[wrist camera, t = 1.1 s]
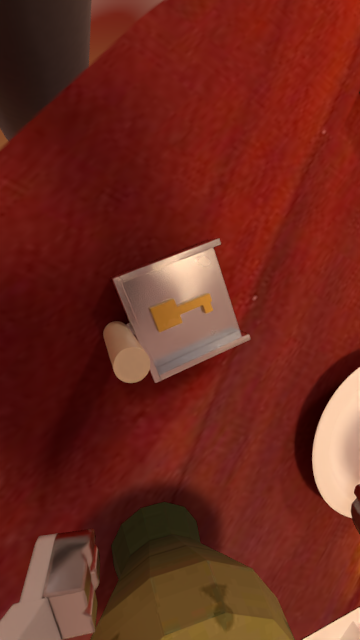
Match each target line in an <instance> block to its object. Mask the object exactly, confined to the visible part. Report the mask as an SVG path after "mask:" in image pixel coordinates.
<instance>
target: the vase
mask: <svg viewBox="0 0 360 640" xmlns="http://www.w3.org/2000/svg"><path fill="white" fill-rule="evenodd" d="M111 546H112V554H113V563H114V568H115V570H116V573H117V576H118V579H119V580H118V582H117V584H116V586H115V588H114V591H113V593H112V595H111V597H110V599H109V601H108V603H107V605H106V607H105V610H104V612H103V614H102V616H101V618H100V620H99V622H98V624H97V626H96V628H95V632H94V633H93V635H92V637H91V639H90V640H295V639H294V637H293V634H292V632H291V630H290V627H289V625H288V623H287V620H286V618H285V616H284V613H283V611H282V609H281V606H280V604H279V602H278V599H277V597H276V596H275V595H274V594H273V593H272V592H271V590H270V589H269V588H268V587H267V586H266V584H265V583H264V582H263V581H262V580H261V579H260V577H259V576H258V575H257V574H256V573H255V571H254V570H253V569H252V568H250V567H248V566H246V565H244V564H242V563H240V562H238V561H236V560H234V559H232V558H230V557H228V556H226V555H224V554H222V553H220V552H217V551H215V550H213V549H211V548H209V547H207V546H205V545H203V544H201V543H200V537H199V532H198V527H197V522H196V520H195V519H194V518H193V517H192V515H191V514H190V513H189V512H188V511H187V509H186V508H185V507H183V506H179V505H175V504H170V503H166V502H162V503H159V504H155V505H151V506H147V507H143V508H141V509H139V510H138V511H137V512H136V513H135V514H133V515H132V516H131V517H130V518H128V519H127V520H126V521H125V522H123V523H122V524H121V526H120V528H119V530H118V533H117V535H116V537H115V539H114V541H113V543H112V545H111Z"/></svg>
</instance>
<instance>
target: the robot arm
mask: <svg viewBox="0 0 360 640" xmlns="http://www.w3.org/2000/svg"><path fill="white" fill-rule="evenodd" d="M354 494H355V496H356V497H357V498H356V499H355V500H354V501H353V503H352V505H351V515H352V520H353V522H354V525H355V527H356V529H357V530H358V532H359V534H360V484H358V485H357V486H356V487H355V489H354ZM99 578H100V557H99V550H98V546H96V545H95V533H94V529H87V530H80V531H73V532H65V533H58V534H51V535H45V536H39V538H38V539H37V541H36V543H35V546H34V550H33V554H32V557H31V561H30V565H29V568H28V572H27V576H26V580H25V583H24V587H23V591H22V594H21V598H20V602H19V603H16V604H13V605H12V606H11V608H10V609H9V610H8V611H7V613H6V614H5V615H4V617H3V618H2V619H1V620H0V640H63V639H68V638H72V637H76V636H81V635H85V634H90V633H94V632H95V626H96V615H97V604H98V603H97V598H96V594H95V590H96V588H97V587H98V585H99Z"/></svg>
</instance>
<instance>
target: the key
mask: <svg viewBox="0 0 360 640" xmlns="http://www.w3.org/2000/svg"><path fill="white" fill-rule="evenodd" d="M211 301H212V299H211V296H210V294H209V293H206V294H204V295H201V296H199V297H197V298H194V299H192V300H189V301H187V302H185V303H182V304H180V305H176V303H175V300H174V299H170V300H168V301H165V302H163V303H160V304H158V305H156V306H153V307H151V308H149V309H150V312H151V314H152V317H153V319H154V322H155V325H156V327H157V330H158V331H159V332H162V331H164V330H167V329H169V328H171V327H174V326H176V325H178V324H181V323H182V319H181V316H180V315H181V314H183V313H185V312H188V311H190V310H193V309H195V308H197V307H200V306H202V308H203V311H204V313H206V314H207V313H209V312H211V311H213V308H212V305H211Z"/></svg>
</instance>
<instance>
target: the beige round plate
mask: <svg viewBox="0 0 360 640" xmlns="http://www.w3.org/2000/svg"><path fill="white" fill-rule="evenodd" d="M312 467H313V474H314V478H315V482H316V485H317V488H318V490H319V492H320V494H321V495H322V497H323V499H324V500H325V501H326V502H327V504H328V505H329V506H330V507H331V508H333V509H334V510H335V511H337V512H338V513H340V514H342V515H344V516H347V517H350V518H352V515H351V505H352V503H353V501H354V500H355V499H356V498H357V497H356V496H355V494H354V489H355V487H356V486H357V485H358V484H360V367H359V368H358V369H356V370H355V371H354V372H353V373H352V374H351V375H349V376H348V377H347V378H346V379H345V380H344V382H343V383H342V384H341V385H340V386H339V387H338V389H337V390H336V391H335V393H334V394H333V396H332V397H331V399H330V400H329V402H328V404H327V405H326V407H325V409H324V411H323V413H322V416H321V418H320V420H319V423H318V426H317V429H316V433H315V437H314V442H313V450H312Z"/></svg>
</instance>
